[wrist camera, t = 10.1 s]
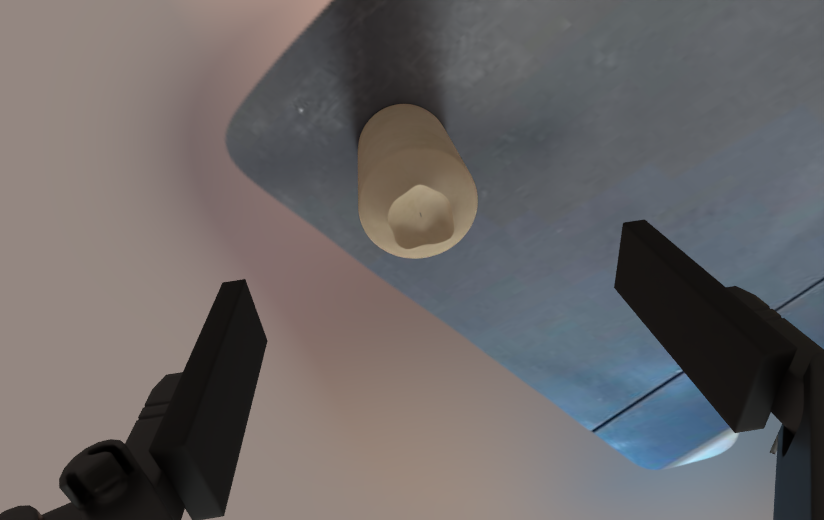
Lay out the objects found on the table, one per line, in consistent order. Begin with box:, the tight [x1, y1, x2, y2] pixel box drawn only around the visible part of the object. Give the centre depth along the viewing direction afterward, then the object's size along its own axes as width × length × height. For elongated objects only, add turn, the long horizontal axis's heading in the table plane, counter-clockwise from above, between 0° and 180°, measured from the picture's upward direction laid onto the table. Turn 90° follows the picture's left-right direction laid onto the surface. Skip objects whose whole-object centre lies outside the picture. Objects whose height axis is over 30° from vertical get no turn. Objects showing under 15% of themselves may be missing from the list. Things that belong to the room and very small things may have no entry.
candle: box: [358, 104, 478, 258], centre depth 25 cm, size 6×6×10 cm
